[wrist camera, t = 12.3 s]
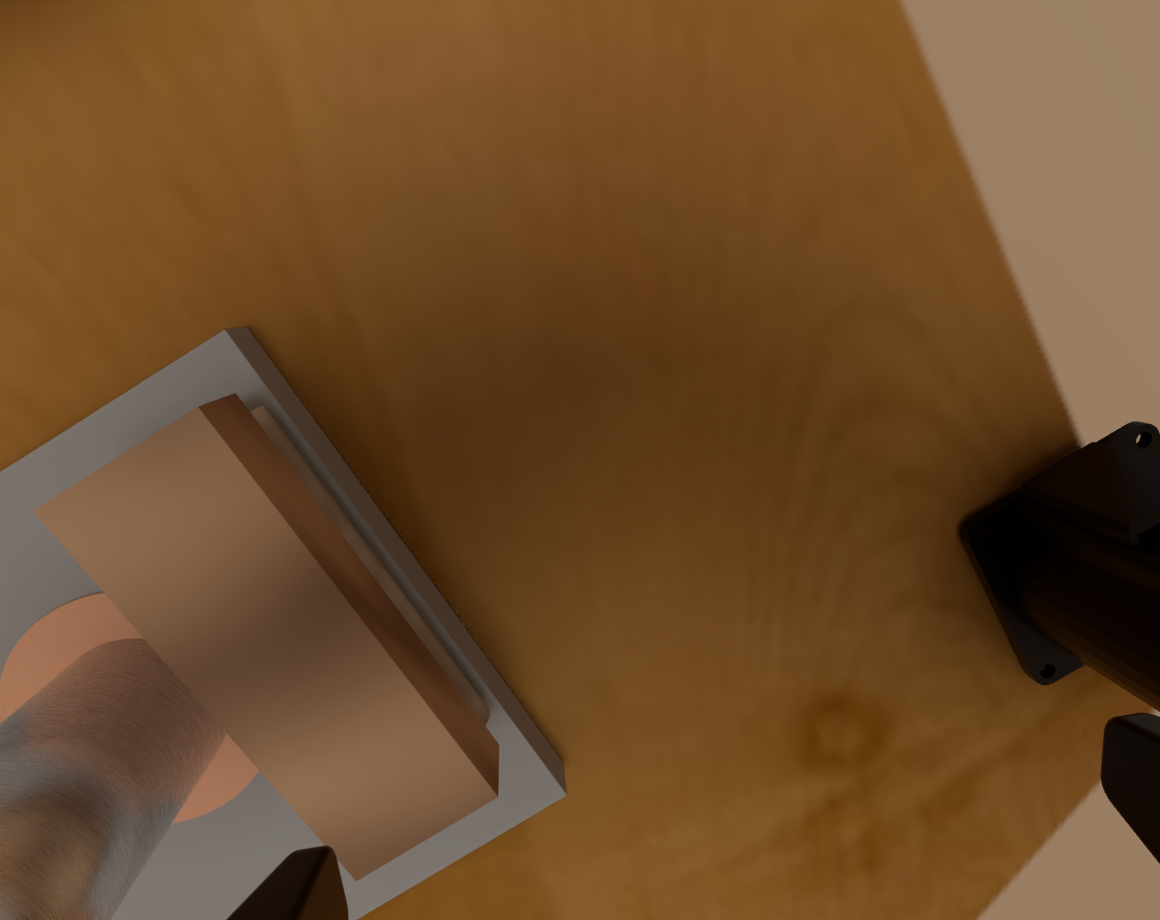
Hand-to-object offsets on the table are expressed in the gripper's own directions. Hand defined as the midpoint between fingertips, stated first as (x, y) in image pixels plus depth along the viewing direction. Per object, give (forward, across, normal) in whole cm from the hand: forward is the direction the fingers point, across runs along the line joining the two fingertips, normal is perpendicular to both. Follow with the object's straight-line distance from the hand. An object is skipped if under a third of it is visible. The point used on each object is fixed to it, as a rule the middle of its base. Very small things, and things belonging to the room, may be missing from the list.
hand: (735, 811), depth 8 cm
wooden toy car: (+11, +8, +1) cm, 14 cm away
